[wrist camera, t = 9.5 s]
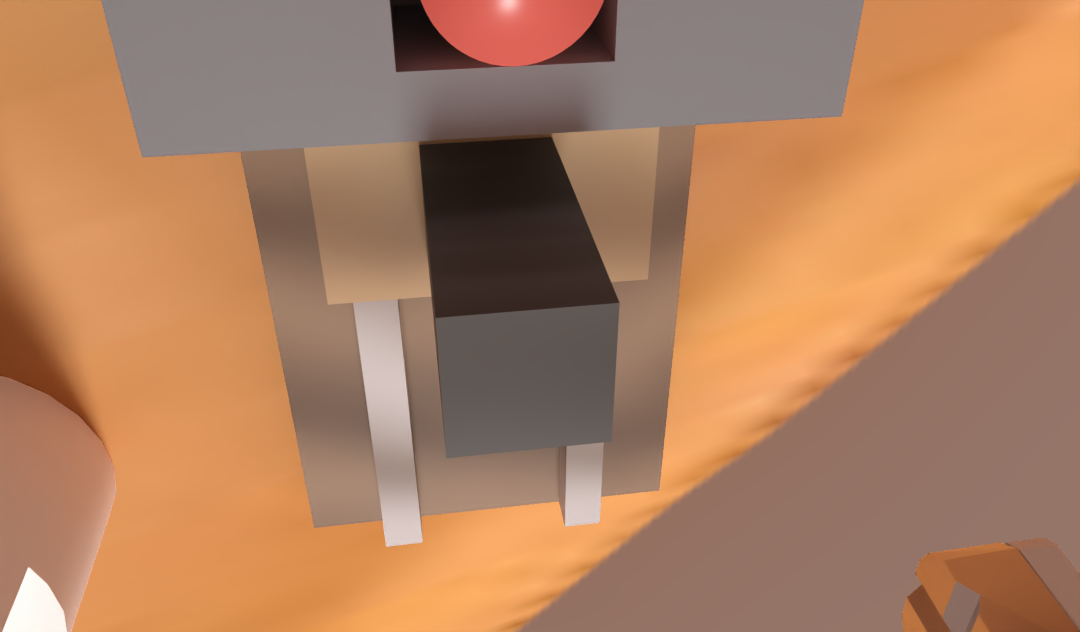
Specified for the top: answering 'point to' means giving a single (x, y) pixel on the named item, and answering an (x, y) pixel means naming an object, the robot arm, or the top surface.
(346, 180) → the carriage
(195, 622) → the top surface
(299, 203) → the rail board
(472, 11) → the button
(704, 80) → the end cabinet
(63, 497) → the base with upright slab
